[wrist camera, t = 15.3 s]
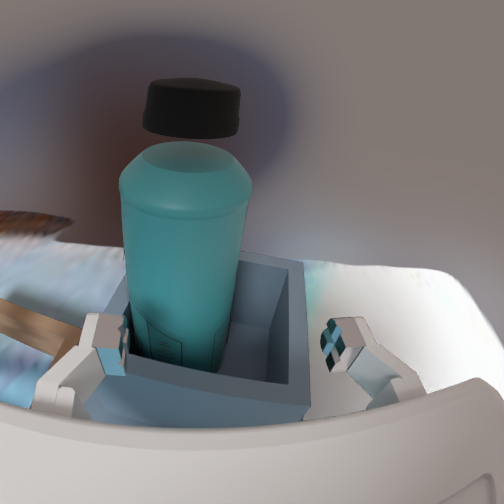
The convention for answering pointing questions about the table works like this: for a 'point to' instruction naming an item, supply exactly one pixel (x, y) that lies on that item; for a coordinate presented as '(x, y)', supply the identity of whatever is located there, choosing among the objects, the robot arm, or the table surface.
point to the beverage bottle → (184, 224)
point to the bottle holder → (223, 361)
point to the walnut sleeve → (38, 330)
